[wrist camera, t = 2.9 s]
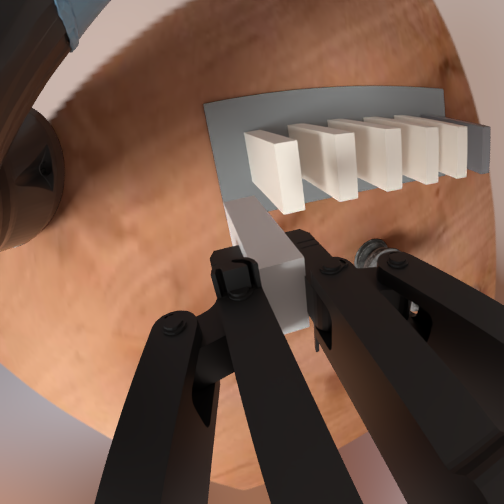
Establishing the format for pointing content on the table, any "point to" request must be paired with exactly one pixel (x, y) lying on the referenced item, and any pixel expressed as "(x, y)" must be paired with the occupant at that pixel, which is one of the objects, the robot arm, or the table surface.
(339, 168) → the tile
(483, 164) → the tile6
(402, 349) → the robot arm
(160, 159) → the table surface
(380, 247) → the grey chess piece
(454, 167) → the tile
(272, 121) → the mat
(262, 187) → the tile
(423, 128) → the tile
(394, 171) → the tile
